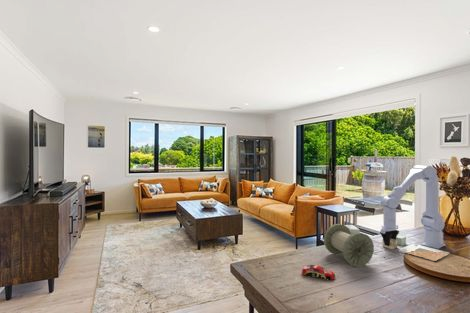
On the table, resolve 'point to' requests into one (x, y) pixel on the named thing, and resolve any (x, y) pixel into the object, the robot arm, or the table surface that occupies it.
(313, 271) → the race car
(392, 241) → the maple block
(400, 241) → the sage block
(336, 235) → the spool
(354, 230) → the ink box
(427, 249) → the baseplate
